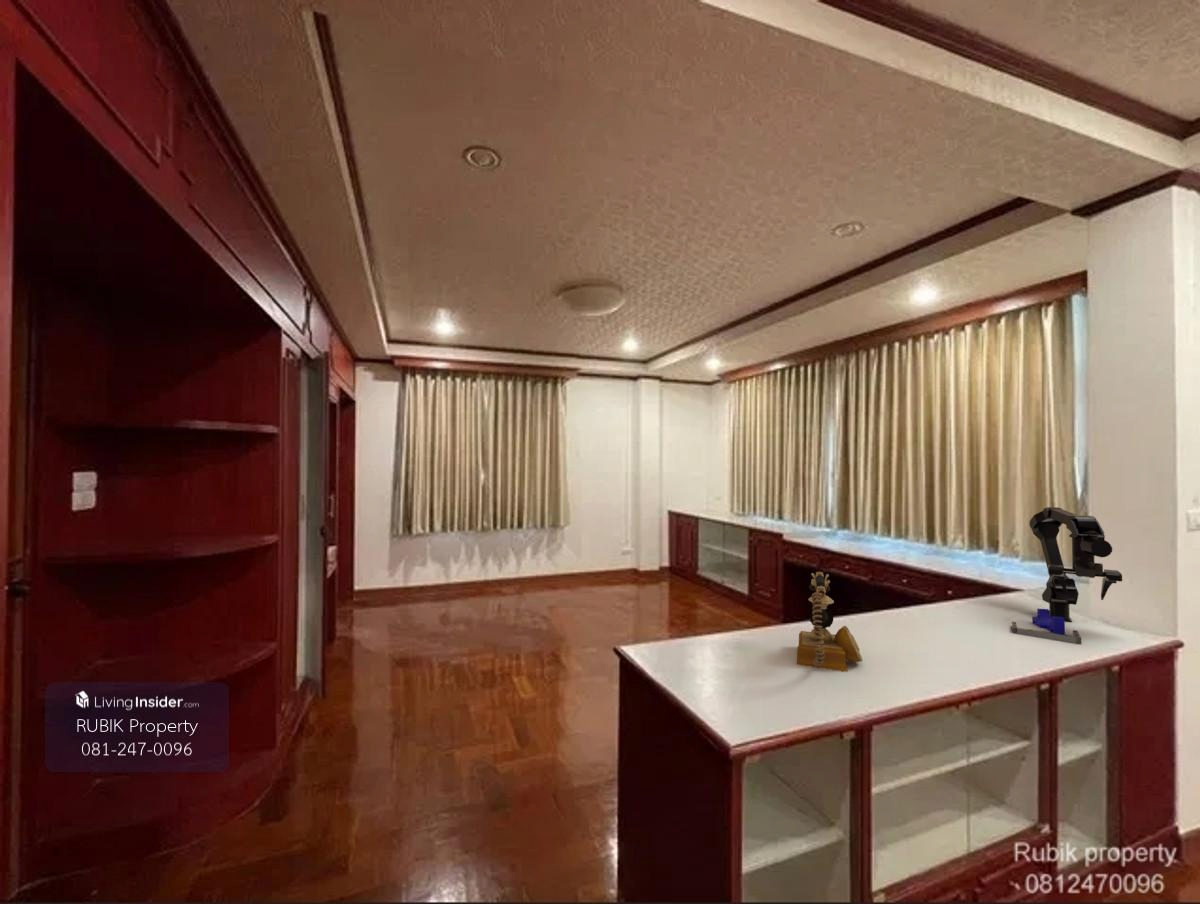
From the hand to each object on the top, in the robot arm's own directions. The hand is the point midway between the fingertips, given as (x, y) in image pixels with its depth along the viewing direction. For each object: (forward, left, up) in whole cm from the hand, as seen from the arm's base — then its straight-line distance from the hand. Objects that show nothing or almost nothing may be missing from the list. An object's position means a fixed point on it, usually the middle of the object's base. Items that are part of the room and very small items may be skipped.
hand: (1083, 597), depth 183 cm
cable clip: (+3, -10, -12) cm, 16 cm away
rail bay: (+13, -11, -12) cm, 21 cm away
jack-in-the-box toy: (+85, -64, -12) cm, 107 cm away
